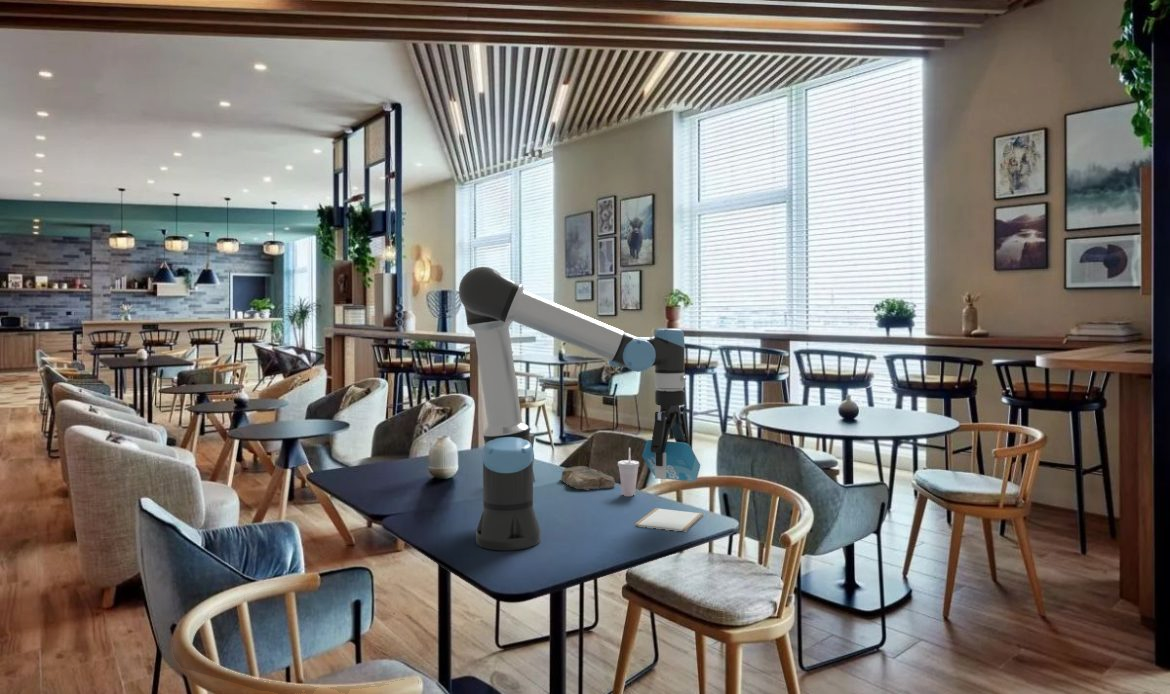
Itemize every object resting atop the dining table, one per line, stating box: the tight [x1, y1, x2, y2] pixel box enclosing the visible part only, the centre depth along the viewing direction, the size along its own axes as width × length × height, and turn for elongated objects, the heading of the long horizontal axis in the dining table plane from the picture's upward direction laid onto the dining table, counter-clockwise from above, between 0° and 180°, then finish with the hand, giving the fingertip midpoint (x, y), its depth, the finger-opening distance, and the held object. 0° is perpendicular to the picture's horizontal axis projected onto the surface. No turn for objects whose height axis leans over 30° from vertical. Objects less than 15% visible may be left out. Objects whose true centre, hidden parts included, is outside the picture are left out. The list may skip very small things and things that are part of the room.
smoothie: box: [617, 447, 640, 497], centre depth 212 cm, size 6×6×14 cm
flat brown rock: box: [560, 465, 616, 491], centre depth 228 cm, size 14×5×20 cm
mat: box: [634, 507, 704, 532], centre depth 185 cm, size 16×13×1 cm
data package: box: [641, 439, 701, 483], centre depth 185 cm, size 12×4×12 cm
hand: (670, 473), depth 185 cm, fingers closed on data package, 12 cm apart
